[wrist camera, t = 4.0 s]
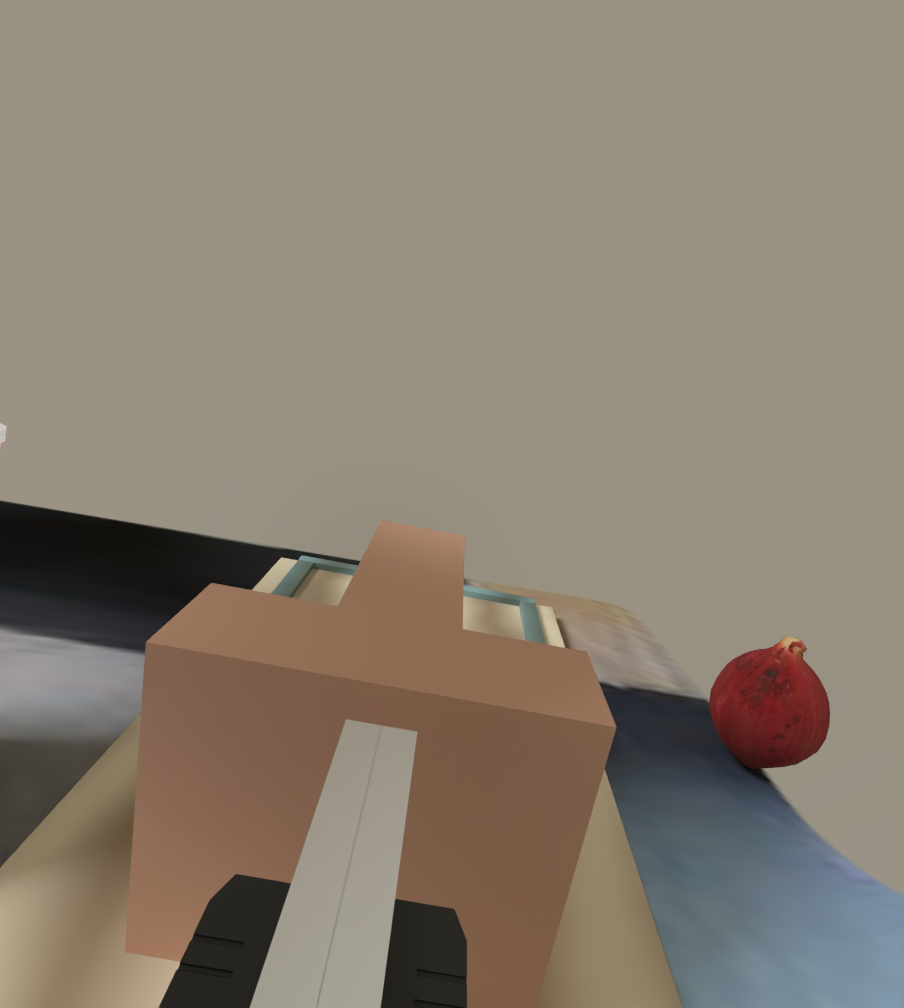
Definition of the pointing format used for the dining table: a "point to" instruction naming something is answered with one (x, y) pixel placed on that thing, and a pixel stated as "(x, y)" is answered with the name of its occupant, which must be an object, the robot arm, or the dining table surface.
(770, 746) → the red pomegranate
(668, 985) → the board
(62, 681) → the dining table surface
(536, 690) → the tee
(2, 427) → the beverage cup
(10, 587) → the dining table surface
